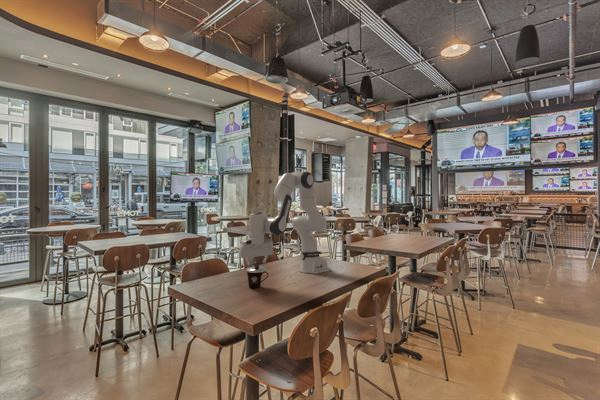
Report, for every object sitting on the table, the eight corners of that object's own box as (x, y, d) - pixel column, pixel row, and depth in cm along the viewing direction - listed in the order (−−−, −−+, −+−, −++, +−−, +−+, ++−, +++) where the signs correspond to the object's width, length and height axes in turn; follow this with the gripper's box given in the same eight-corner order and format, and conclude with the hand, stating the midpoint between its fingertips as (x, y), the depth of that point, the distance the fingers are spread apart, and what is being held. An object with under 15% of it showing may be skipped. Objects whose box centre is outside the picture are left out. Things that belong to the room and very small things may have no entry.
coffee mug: (244, 288, 172) (244, 271, 171) (251, 284, 180) (251, 267, 180) (262, 290, 168) (262, 272, 168) (269, 286, 176) (269, 269, 176)
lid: (262, 266, 182) (262, 259, 182) (270, 271, 171) (270, 262, 171) (243, 269, 176) (243, 261, 176) (250, 273, 165) (250, 265, 165)
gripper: (270, 238, 181) (271, 260, 181) (238, 240, 171) (238, 264, 171) (275, 239, 176) (275, 262, 176) (241, 242, 166) (241, 267, 166)
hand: (256, 264), depth 174 cm, fingers open, 8 cm apart
